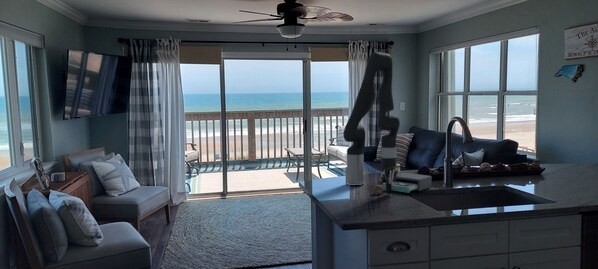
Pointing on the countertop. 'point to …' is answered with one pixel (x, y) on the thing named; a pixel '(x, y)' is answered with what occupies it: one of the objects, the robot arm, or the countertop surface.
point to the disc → (401, 184)
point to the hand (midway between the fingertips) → (388, 190)
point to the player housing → (415, 180)
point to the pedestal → (378, 189)
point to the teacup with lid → (397, 168)
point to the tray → (402, 187)
